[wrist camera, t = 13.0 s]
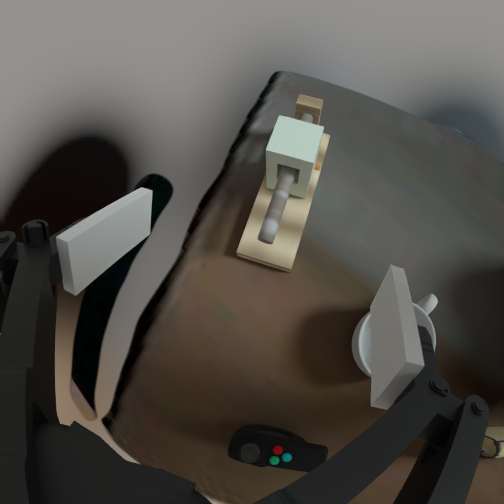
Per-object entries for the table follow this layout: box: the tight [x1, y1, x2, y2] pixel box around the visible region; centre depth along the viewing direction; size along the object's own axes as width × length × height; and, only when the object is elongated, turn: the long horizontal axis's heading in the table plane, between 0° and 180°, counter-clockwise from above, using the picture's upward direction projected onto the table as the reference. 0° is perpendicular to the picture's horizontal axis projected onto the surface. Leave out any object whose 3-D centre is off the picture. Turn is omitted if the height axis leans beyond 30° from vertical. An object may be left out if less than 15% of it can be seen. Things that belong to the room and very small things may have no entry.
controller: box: [228, 425, 328, 472], centre depth 34 cm, size 4×12×10 cm, turn 75°
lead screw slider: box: [236, 94, 330, 272], centre depth 44 cm, size 24×8×10 cm, turn 161°
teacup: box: [352, 294, 438, 377], centre depth 38 cm, size 14×11×8 cm
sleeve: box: [266, 115, 324, 198], centre depth 42 cm, size 6×6×10 cm
